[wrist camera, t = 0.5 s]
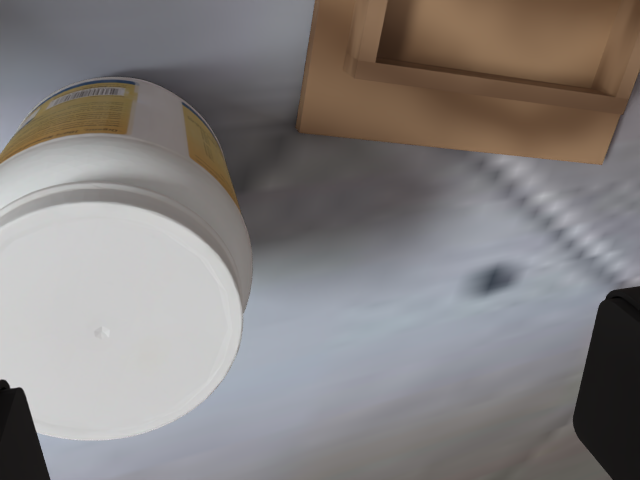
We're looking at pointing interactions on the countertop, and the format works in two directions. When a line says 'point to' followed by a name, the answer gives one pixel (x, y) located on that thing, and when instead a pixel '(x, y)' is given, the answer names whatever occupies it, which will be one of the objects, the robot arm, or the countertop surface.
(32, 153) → the supplement tub
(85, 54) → the countertop surface
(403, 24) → the brown shallow square tray
